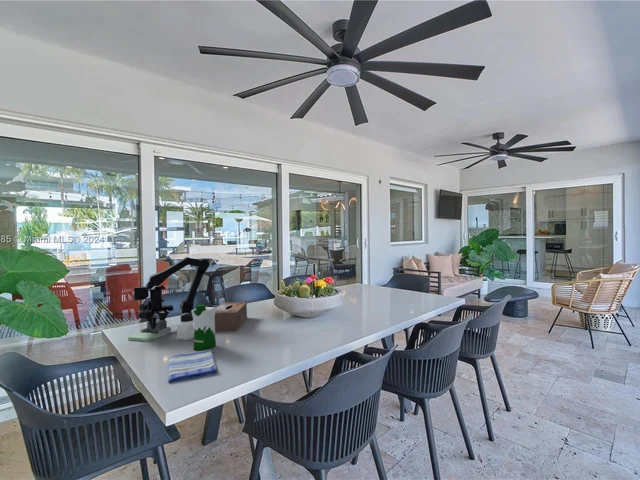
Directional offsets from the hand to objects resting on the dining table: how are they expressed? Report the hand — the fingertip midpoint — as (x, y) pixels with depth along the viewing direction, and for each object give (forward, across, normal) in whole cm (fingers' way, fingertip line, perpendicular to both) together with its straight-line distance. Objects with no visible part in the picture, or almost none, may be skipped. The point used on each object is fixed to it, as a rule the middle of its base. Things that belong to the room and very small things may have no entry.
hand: (157, 327), depth 170 cm
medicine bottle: (+3, +3, +21) cm, 21 cm away
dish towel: (+4, +33, +47) cm, 57 cm away
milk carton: (+3, +14, +39) cm, 41 cm away
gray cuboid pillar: (+2, 0, 0) cm, 2 cm away
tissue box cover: (+4, -23, +29) cm, 37 cm away
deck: (+3, +5, 0) cm, 6 cm away
